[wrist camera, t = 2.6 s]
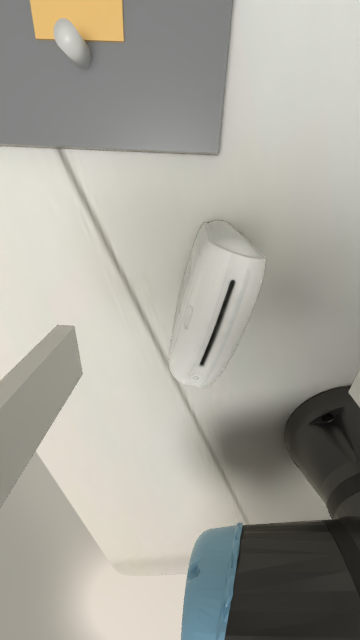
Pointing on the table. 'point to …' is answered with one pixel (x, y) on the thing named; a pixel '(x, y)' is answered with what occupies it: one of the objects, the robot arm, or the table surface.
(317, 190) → the table surface
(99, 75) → the pin tray
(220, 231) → the photo printer
